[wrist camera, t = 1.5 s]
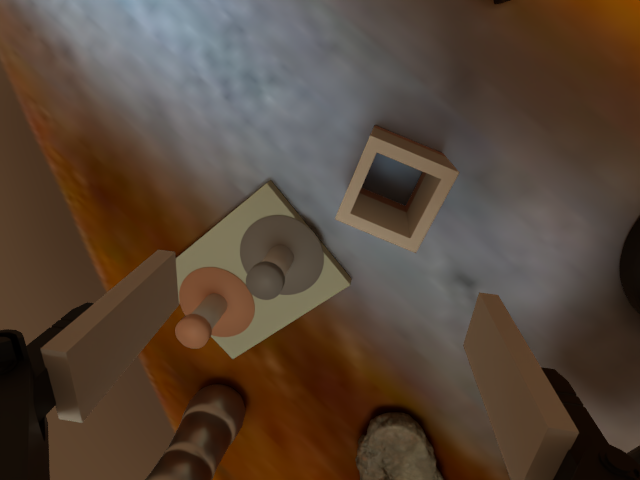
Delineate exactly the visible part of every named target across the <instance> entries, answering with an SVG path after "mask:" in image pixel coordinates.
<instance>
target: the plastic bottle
mask: <svg viewBox="0 0 640 480" xmlns="http://www.w3.org/2000/svg"><path fill="white" fill-rule="evenodd" d="M244 416H245V405H244V402H243V399H242V397H241V396H240V394H239V393H238V392H237V391H236V390H234V389H233V388H231V387H229V386H226V385H222V384H213V385H209V386H206V387H204V388H202V389H201V390H199V391H198V392H197V393H196V395H195V396H194V397H193V398H192V399H191V400H190V402H189V404H188V406H187V408H186V410H185V412H184V415H183V417H182V421H181V423H180V425H179V427H178V429H177V431H176V433H175V435H174V437H173V439H172V441H171V443H170V445H169V447H168V448H167V449H166V451H165V452H164V454H163V456H162V457H161V458H160V460H159V461H158V463H157V464H156V466H155V467H154V469H153V470H152V471H151V473H150V474H149V475H148V477H147V478H146V479H145V480H212V478H213V476H214V474H215V471H216V469H217V467H218V465H219V463H220V461H221V460H222V458H223V456H224V454H225V452H226V450H227V449H228V447H229V445H230V444H231V443H232V442H233V440H234V439H235V437H236V436H237V434H238V432H239V431H240V429H241V427H242V425H243V421H244Z"/></svg>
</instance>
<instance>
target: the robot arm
mask: <svg viewBox="0 0 640 480" xmlns="http://www.w3.org/2000/svg"><path fill="white" fill-rule="evenodd" d="M620 278H621V284H622V287H623V290H624V293H625V295H626V297H627V299H628V300H629V302H630V303H631V305H632V306H633V307H634V308H635V310H636V311H637V312H638V313H639V314H640V218H639V220H638V221H637V223H636V224H635V225H634V227H633V229H632V230H631V232H630V234H629V236H628V238H627V240H626V242H625V245H624V248H623V251H622V255H621V261H620ZM178 305H179V298H178V285H177V271H176V258H175V252H171V251H163V250H158V251H156V252H155V253H154V254H153V255H152V256H150V257H149V258H148V259H147V260H146V261H144V262H143V263H142V264H141V265H140V266H138V267H137V268H136V269H135V270H134V271H132V272H131V273H130V274H129V275H128V276H126V277H125V278H124V279H123V280H122V281H121V282H119V283H118V284H117V285H116V286H115V287H113V288H112V289H111V290H110V291H109V292H107V293H106V294H105V295H104V296H103V297H101V298H100V299H99V300H98V301H97V302H95V303H85V304H83V305H81V306H79V307H77V308H75V309H72V310H71V311H70V312H69V313H68V314H66V315H65V316H64V317H62V318H61V320H59V321H57V322H56V323H55V324H54V325H52V327H51V328H49V329H47V330H46V331H45V332H44V333H42V334H41V335H40V336H39V337H37V338H36V339H35V340H33V341H32V342H31V343H30V344H29V345H27V346H26V344H25V341H24V337H23V335H22V333H21V332H19V331H17V330H0V480H50V475H49V444H48V422H47V418H46V414H47V413H48V412H49V411H50V410H51V409H52V408H53V407H54V406H56V409H57V413H58V417H59V419H63V420H69V421H75V422H80V423H82V422H83V421H84V420H85V419H86V418H87V416H88V415H89V414H90V413H91V412H92V410H93V409H94V408H95V407H96V406H97V404H98V403H99V402H100V401H101V399H102V398H103V397H104V396H105V395H106V393H107V392H108V391H109V390H110V388H111V387H112V386H113V385H114V384H115V382H116V381H117V380H118V379H119V377H120V376H121V375H122V374H123V372H124V371H125V370H126V369H127V368H128V366H129V365H130V364H131V363H132V362H133V360H134V359H135V358H136V357H137V355H138V354H139V353H140V352H141V351H142V349H143V348H144V347H145V346H146V344H147V343H148V342H149V341H150V340H151V338H152V337H153V336H154V335H155V333H156V332H157V331H158V330H159V329H160V327H161V326H162V325H163V324H164V322H165V321H166V320H167V319H168V318H169V316H170V315H171V314H172V313H173V311H174V310H175V309H176V308H177V307H178ZM463 346H464V349H465V352H466V355H467V357H468V360H469V363H470V366H471V369H472V372H473V374H474V377H475V380H476V383H477V386H478V389H479V391H480V394H481V397H482V400H483V403H484V406H485V408H486V411H487V414H488V417H489V420H490V422H491V425H492V428H493V431H494V434H495V437H496V439H497V442H498V445H499V448H500V451H501V454H502V456H503V459H504V462H505V465H506V468H507V471H508V473H509V476H510V479H511V480H640V446H638V447H636V448H635V449H633V450H631V451H630V452H628V453H625V452H623V451H622V450H620V449H618V448H616V447H614V446H612V445H609V443H608V442H607V440H606V439H605V437H604V436H603V434H602V433H601V431H600V430H599V428H598V427H597V425H596V424H595V422H594V421H593V419H592V417H591V416H590V414H589V413H588V411H587V410H586V408H585V407H583V404H582V402H581V401H580V399H579V398H578V397H577V396H576V393H575V391H574V390H573V388H572V387H571V385H570V384H569V382H568V381H567V380H566V379H565V378H564V377H562V376H561V375H560V374H559V373H558V372H557V371H556V370H555V369H549V368H542V367H540V365H539V363H538V362H537V360H536V358H535V357H534V355H533V353H532V352H531V350H530V348H529V347H528V345H527V343H526V341H525V340H524V338H523V336H522V335H521V333H520V331H519V330H518V328H517V326H516V325H515V323H514V321H513V320H512V318H511V316H510V314H509V313H508V311H507V309H506V308H505V306H504V304H503V303H502V301H501V299H500V298H499V296H498V295H493V294H486V293H479V295H478V298H477V302H476V305H475V308H474V312H473V315H472V318H471V321H470V325H469V328H468V331H467V335H466V338H465V341H464V345H463Z"/></svg>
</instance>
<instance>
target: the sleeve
mask: <svg viewBox="0 0 640 480" xmlns="http://www.w3.org/2000/svg"><path fill="white" fill-rule="evenodd" d="M376 153H379V154H382V155H384V156H387V157H389V158H391V159H394V160H396V161H399V162H401V163H403V164H406V165H408V166H411V167H413V168H415V169H418V170H420V171H423V172H422V174H421V176H420V178H419V180H418V182H417V184H416V186H415V188H414V190H413V192H412V194H411V196H410V198H409V200H408V202H407V204H406V206H405V205H402V204H400V203H398V202H395V201H393V200H390V199H388V198H386V197H383V196H381V195H378V194H376V193H374V192H371V191H369V190H366V189H364V188H362V185H363V183H364V180H365V178H366V176H367V173H368V171H369V169H370V167H371V164H372V162H373V160H374V157H375V155H376ZM458 174H459V171H458V170H457V169H456V168H455V167H454V166H453V164H452V163H451V162H450V161H449V160H448V159H447V157H446V156H445V155H444V154H443V153H441V152H439V151H436V150H434V149H432V148H429V147H427V146H424V145H422V144H420V143H417V142H415V141H412V140H410V139H408V138H405V137H403V136H400V135H398V134H395V133H393V132H391V131H388V130H386V129H383V128H381V127H379V126H376V125H374V128H373V130H372V132H371V134H370V137H369V139H368V142H367V144H366V146H365V149H364V151H363V153H362V156H361V158H360V161H359V163H358V165H357V168H356V170H355V172H354V175H353V177H352V180H351V182H350V184H349V187H348V189H347V191H346V194H345V196H344V199H343V201H342V203H341V206H340V208H339V210H338V213H337V215H336V218H335V219H336V220H338V221H340V222H343V223H345V224H348V225H350V226H352V227H355V228H357V229H359V230H362V231H364V232H367V233H369V234H371V235H374V236H376V237H378V238H381V239H383V240H386V241H388V242H390V243H393V244H395V245H397V246H400V247H402V248H405V249H407V250H409V251H412V252H414V253H416V252H417V250H418V248H419V246H420V245H421V243H422V241H423V239H424V237H425V235H426V233H427V232H428V230H429V228H430V226H431V224H432V222H433V220H434V219H435V217H436V215H437V213H438V211H439V209H440V207H441V206H442V204H443V202H444V200H445V198H446V196H447V195H448V193H449V191H450V189H451V187H452V185H453V183H454V182H455V180H456V178H457V176H458Z"/></svg>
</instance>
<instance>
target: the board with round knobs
mask: <svg viewBox="0 0 640 480" xmlns="http://www.w3.org/2000/svg"><path fill="white" fill-rule="evenodd" d="M176 271H177V285H178V298H179V303H180V305H181V308H182V310H183V312H184V314H185V317H183V319H182V320H181V321H180V322H179V323H178V324H177V326H176V328H175V334H176V337H177V339H178V340H179V341H180V342H181V343H182V344H183V345H184V346H186V347H189V348H192V349H198V348H201V347H203V346H204V345H205V344H206V342H207V341H208V340H209V338H210V337H212V338H213V339H214V340H215V341H216V342H217V343H218V344H219V345H220V346H221V347H222V348H223V349H224V350H225V351H226V353H227V354H228V355H229V356H230V357H231V358H232V359H234V358H235V357H237V356H238V355H240V354H242V353H243V352H245V351H246V350H248V349H250V348H251V347H253V346H254V345H256V344H258V343H259V342H261V341H262V340H264V339H265V338H267V337H269V336H270V335H272V334H273V333H275V332H277V331H278V330H280V329H281V328H283V327H285V326H286V325H288V324H289V323H291V322H292V321H294V320H296V319H297V318H299V317H300V316H302V315H304V314H305V313H307V312H308V311H310V310H311V309H313V308H315V307H316V306H318V305H319V304H321V303H323V302H324V301H326V300H327V299H329V298H331V297H332V296H334V295H335V294H337V293H338V292H340V291H342V290H343V289H345V288H346V287H348V286H350V285H351V280H352V279H351V278H350V276H349V275H348V274H347V273H346V272H345V270H344V269H343V268H342V267H341V265H340V264H339V263H338V262H337V261H336V259H335V258H334V257H333V256H332V255H331V253H330V252H329V251H328V250H327V248H326V247H325V246H324V245H323V244H322V242H321V241H320V240H319V239H318V237H317V236H316V235H315V233H314V232H313V231H312V230H311V229H310V228H309V226H308V225H307V224H306V223H305V222H304V220H303V219H302V218H301V217H300V215H299V214H298V213H297V212H296V211H295V209H294V208H293V207H292V206H291V204H290V203H289V202H288V201H287V200H286V198H285V197H284V196H283V195H282V193H281V192H280V191H279V190H278V189H277V187H276V186H275V185H274V184H273V182H272V181H271V180H270V181H269V182H268V183H266V184H265V185H264V186H263V187H262V188H260V189H259V190H258V191H257V192H255V193H254V194H253V195H252V196H251V197H249V198H248V199H247V200H246V201H245V202H243V203H242V204H241V205H240V206H239V207H237V208H236V209H235V210H234V211H233V212H231V213H230V214H229V215H228V216H227V217H225V218H224V219H223V220H222V221H221V222H219V223H218V224H217V225H216V226H215V227H213V228H212V229H211V230H210V231H208V232H207V233H206V234H205V235H204V236H202V237H201V238H200V239H199V240H198V241H196V242H195V243H194V244H193V245H192V246H190V247H189V248H188V249H187V250H186V251H184V252H183V253H182V254H181V255H180V256H178V257H177V258H176Z"/></svg>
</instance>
